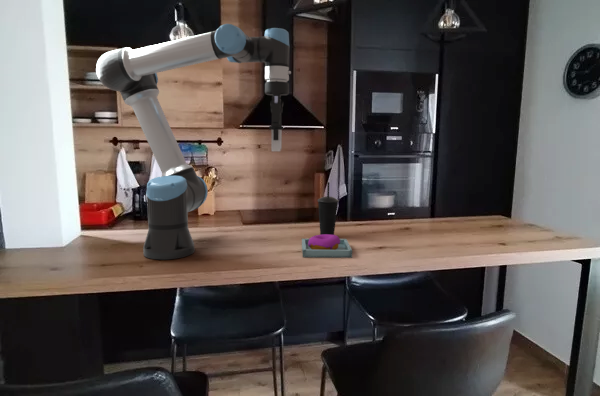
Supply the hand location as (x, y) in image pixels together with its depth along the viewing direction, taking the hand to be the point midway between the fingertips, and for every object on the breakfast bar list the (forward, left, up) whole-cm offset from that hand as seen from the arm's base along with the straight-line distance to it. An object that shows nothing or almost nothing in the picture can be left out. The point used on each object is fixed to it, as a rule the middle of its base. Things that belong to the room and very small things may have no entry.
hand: (276, 150), depth 134 cm
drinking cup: (+18, +13, -32) cm, 39 cm away
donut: (+16, -5, -31) cm, 35 cm away
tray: (+16, -5, -32) cm, 36 cm away
